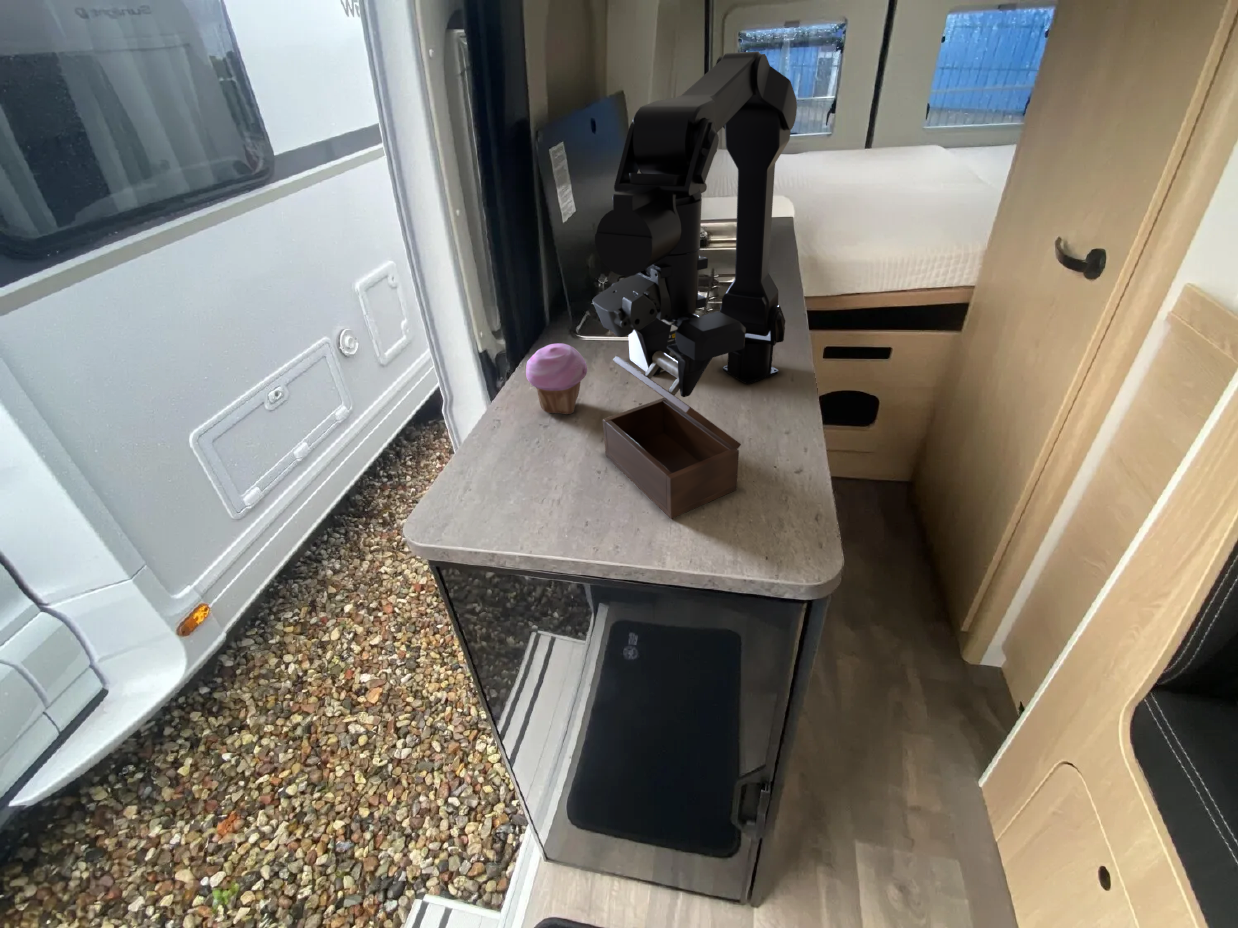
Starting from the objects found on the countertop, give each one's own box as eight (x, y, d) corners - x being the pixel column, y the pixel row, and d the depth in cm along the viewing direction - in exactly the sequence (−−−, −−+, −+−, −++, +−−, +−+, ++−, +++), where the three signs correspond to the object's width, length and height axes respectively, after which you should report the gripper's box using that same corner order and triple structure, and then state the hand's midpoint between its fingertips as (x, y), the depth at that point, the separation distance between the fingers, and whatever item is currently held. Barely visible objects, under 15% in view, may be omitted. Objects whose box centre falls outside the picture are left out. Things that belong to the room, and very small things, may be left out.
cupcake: (524, 420, 90) (513, 359, 84) (543, 392, 97) (534, 333, 91) (582, 424, 88) (575, 362, 83) (597, 395, 95) (591, 335, 89)
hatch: (686, 413, 63) (710, 380, 63) (612, 360, 74) (632, 331, 74) (737, 450, 70) (759, 420, 70) (662, 396, 81) (681, 370, 81)
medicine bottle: (649, 376, 99) (647, 305, 92) (629, 360, 105) (625, 292, 98) (686, 365, 102) (686, 295, 95) (664, 350, 107) (663, 283, 100)
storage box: (671, 519, 70) (670, 478, 67) (605, 456, 81) (602, 418, 78) (736, 489, 74) (739, 450, 70) (665, 433, 85) (664, 397, 82)
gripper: (560, 241, 65) (572, 372, 74) (653, 287, 52) (654, 441, 61) (648, 225, 70) (649, 351, 79) (755, 264, 56) (742, 411, 65)
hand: (669, 385), depth 71 cm, fingers closed on hatch, 6 cm apart
